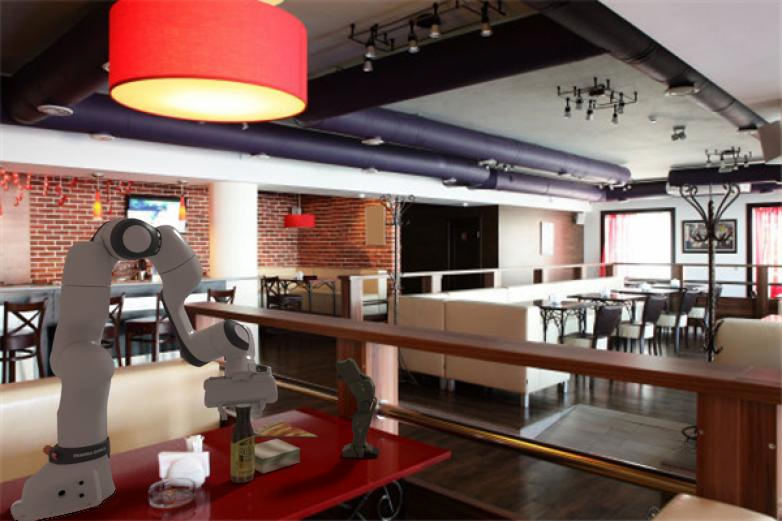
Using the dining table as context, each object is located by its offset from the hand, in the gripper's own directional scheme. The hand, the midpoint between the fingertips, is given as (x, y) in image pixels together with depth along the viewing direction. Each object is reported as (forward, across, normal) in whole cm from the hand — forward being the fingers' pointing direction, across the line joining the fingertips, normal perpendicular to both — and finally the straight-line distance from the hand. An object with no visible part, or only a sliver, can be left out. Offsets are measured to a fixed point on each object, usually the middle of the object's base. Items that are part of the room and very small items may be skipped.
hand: (242, 417), depth 161 cm
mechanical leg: (+9, +33, +13) cm, 37 cm away
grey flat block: (+8, +8, +14) cm, 17 cm away
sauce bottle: (+15, 0, +6) cm, 16 cm away
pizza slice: (-9, +12, +32) cm, 35 cm away
